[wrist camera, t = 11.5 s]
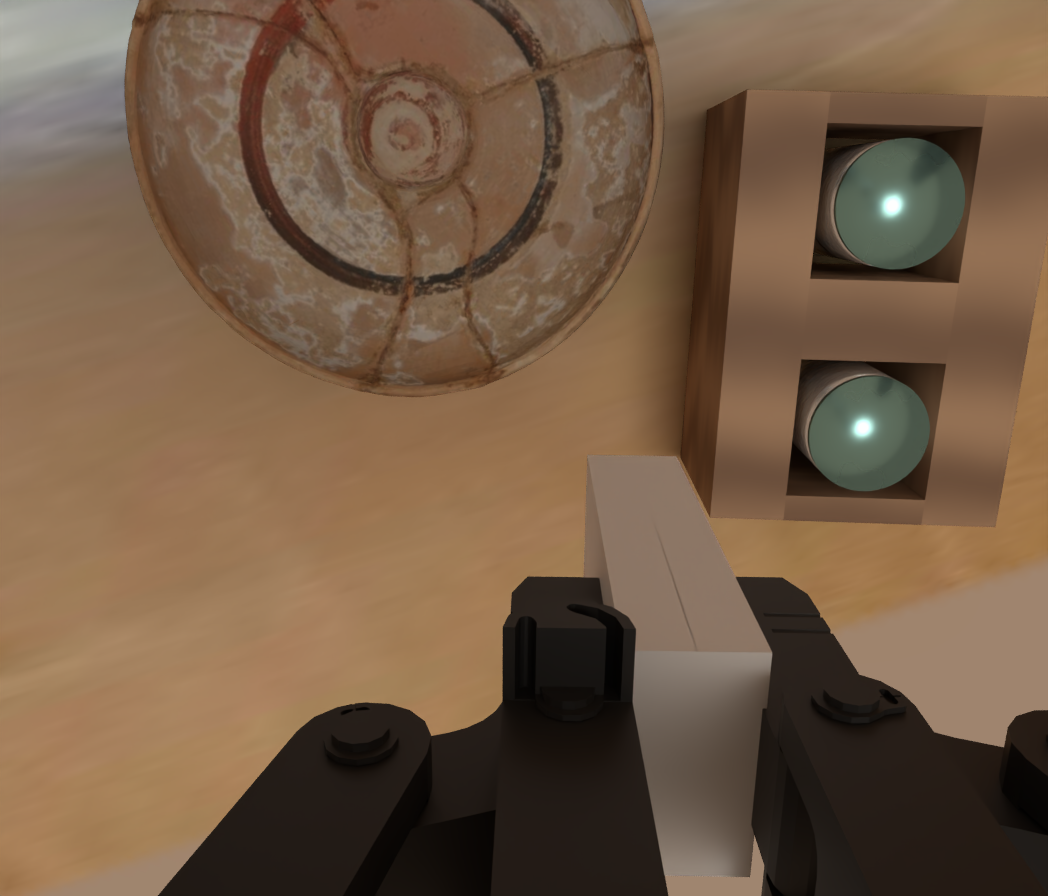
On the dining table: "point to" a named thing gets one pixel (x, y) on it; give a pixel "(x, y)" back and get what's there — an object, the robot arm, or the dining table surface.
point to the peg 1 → (888, 202)
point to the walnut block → (860, 304)
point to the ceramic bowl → (397, 174)
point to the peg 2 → (858, 424)
